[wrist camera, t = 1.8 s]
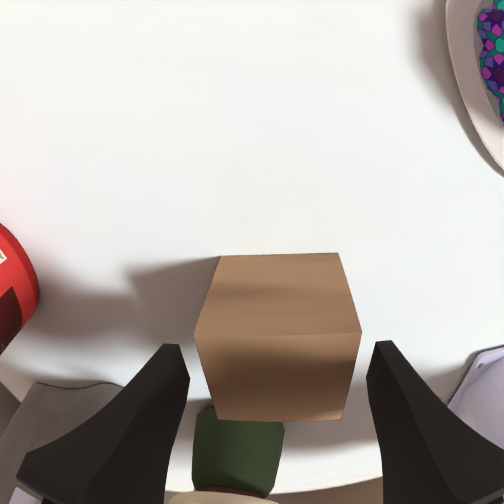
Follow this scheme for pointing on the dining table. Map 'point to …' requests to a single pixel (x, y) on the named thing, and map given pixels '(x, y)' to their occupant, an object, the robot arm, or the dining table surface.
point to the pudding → (491, 62)
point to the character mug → (233, 461)
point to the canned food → (15, 288)
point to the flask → (45, 426)
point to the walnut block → (278, 337)
